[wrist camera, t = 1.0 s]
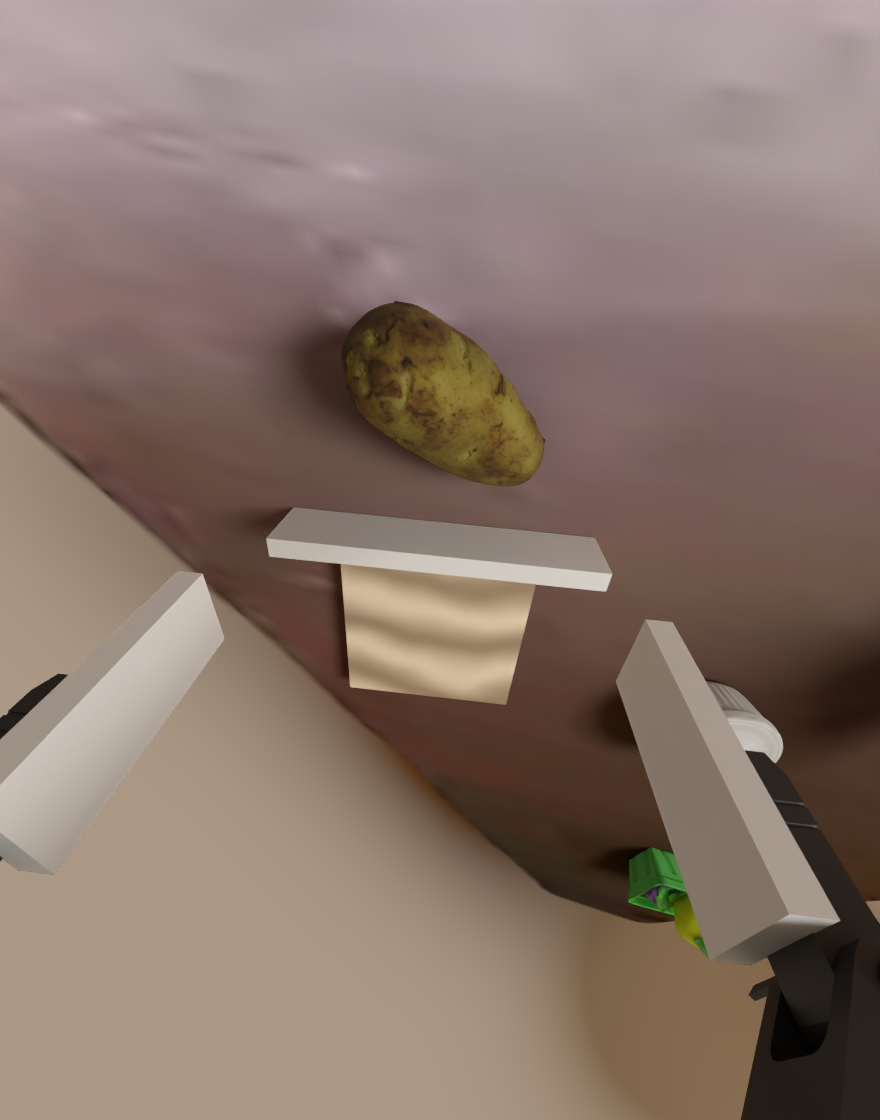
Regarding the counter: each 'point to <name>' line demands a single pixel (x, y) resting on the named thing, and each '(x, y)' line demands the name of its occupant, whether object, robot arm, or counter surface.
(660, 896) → the fruit basket
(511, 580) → the divider wall
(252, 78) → the counter surface
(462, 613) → the cutting board
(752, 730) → the ramekin
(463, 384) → the potato
